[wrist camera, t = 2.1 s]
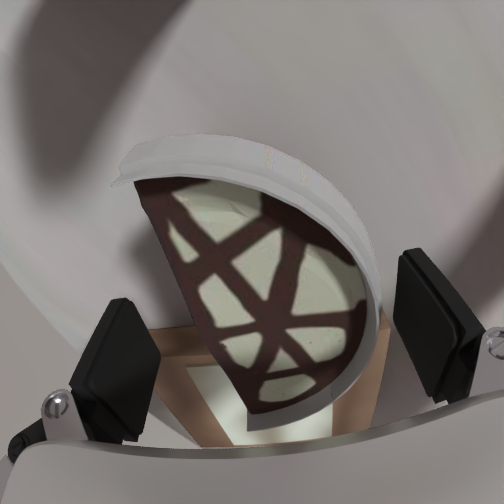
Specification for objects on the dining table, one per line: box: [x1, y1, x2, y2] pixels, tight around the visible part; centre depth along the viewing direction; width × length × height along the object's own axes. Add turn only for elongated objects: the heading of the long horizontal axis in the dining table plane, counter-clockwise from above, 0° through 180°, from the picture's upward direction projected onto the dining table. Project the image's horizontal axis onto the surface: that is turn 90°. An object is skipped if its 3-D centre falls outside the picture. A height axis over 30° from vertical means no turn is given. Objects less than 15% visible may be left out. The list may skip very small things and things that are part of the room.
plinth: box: [148, 309, 391, 447], centre depth 24 cm, size 18×16×3 cm
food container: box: [110, 133, 382, 432], centre depth 13 cm, size 12×6×10 cm, turn 15°
